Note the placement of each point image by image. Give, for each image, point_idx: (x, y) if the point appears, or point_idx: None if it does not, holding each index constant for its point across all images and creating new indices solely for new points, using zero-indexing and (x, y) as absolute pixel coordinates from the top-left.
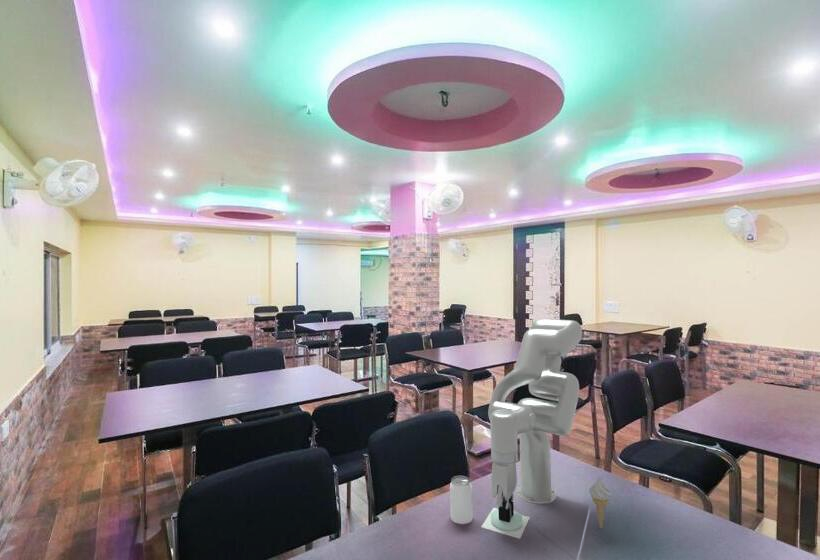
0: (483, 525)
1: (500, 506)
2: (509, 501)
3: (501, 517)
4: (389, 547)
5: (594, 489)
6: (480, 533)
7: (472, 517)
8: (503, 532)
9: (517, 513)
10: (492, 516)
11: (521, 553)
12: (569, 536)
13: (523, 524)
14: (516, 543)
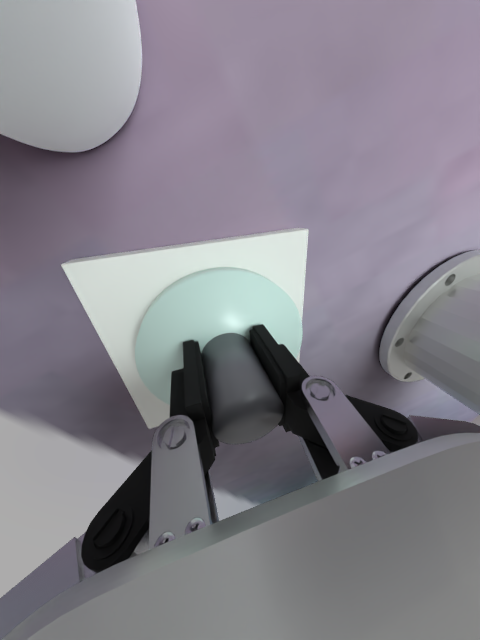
0: (92, 268)
1: (135, 481)
2: (287, 419)
3: (173, 377)
4: None
5: None
6: (41, 269)
7: (88, 139)
8: (132, 376)
9: None
10: (185, 297)
11: (96, 446)
12: (269, 456)
13: None
14: (134, 412)
